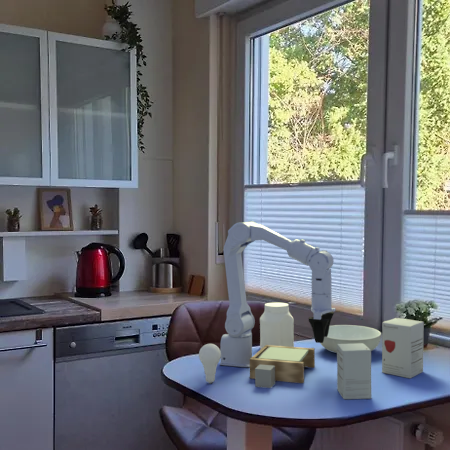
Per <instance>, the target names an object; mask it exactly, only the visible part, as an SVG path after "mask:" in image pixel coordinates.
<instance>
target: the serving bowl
mask: <svg viewBox="0 0 450 450" xmlns="http://www.w3.org/2000/svg"><path fill="white" fill-rule="evenodd" d="M381 339H382V331H379V330H378V329H376V328H373V327H369V326H364V325H354V324H353V325H352V324H335V325H330V326H329V332H328V336H327V337H324V341H323V343H320V344H321V346H322V347H323V348H324V349H325V350H327V351H329V352H331V353H336V354H337V344H357V343H363V344H365V345H366V346H367V347H368V348H369V349H370V350H371V352H373V351H374V350H375V349H376V348H377V347H378V346H379V344H380V342H381Z"/></svg>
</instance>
